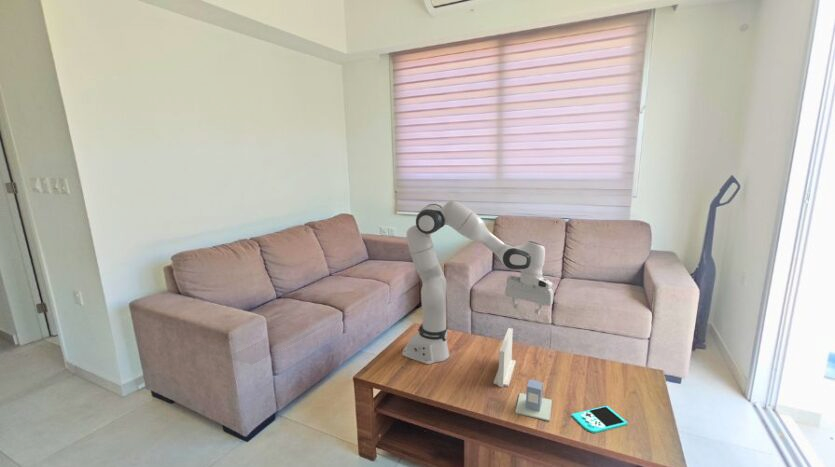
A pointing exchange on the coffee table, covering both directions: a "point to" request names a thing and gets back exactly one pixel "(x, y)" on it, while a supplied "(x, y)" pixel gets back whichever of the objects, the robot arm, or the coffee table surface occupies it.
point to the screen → (505, 361)
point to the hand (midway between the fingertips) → (525, 311)
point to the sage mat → (543, 413)
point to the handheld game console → (599, 419)
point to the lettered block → (534, 395)
